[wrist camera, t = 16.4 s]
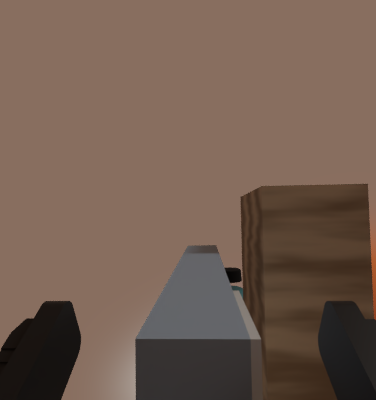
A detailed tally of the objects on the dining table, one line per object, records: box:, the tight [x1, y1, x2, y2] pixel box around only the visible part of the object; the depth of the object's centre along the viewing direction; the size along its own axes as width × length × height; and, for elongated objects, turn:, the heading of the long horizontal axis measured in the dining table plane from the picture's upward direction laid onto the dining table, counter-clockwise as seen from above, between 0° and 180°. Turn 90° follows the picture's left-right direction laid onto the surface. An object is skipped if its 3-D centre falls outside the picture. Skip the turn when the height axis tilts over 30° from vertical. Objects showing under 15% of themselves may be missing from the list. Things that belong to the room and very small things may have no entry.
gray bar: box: [136, 245, 252, 400], centre depth 24 cm, size 30×4×4 cm, turn 177°
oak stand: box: [241, 184, 374, 400], centre depth 39 cm, size 18×10×32 cm, turn 177°
